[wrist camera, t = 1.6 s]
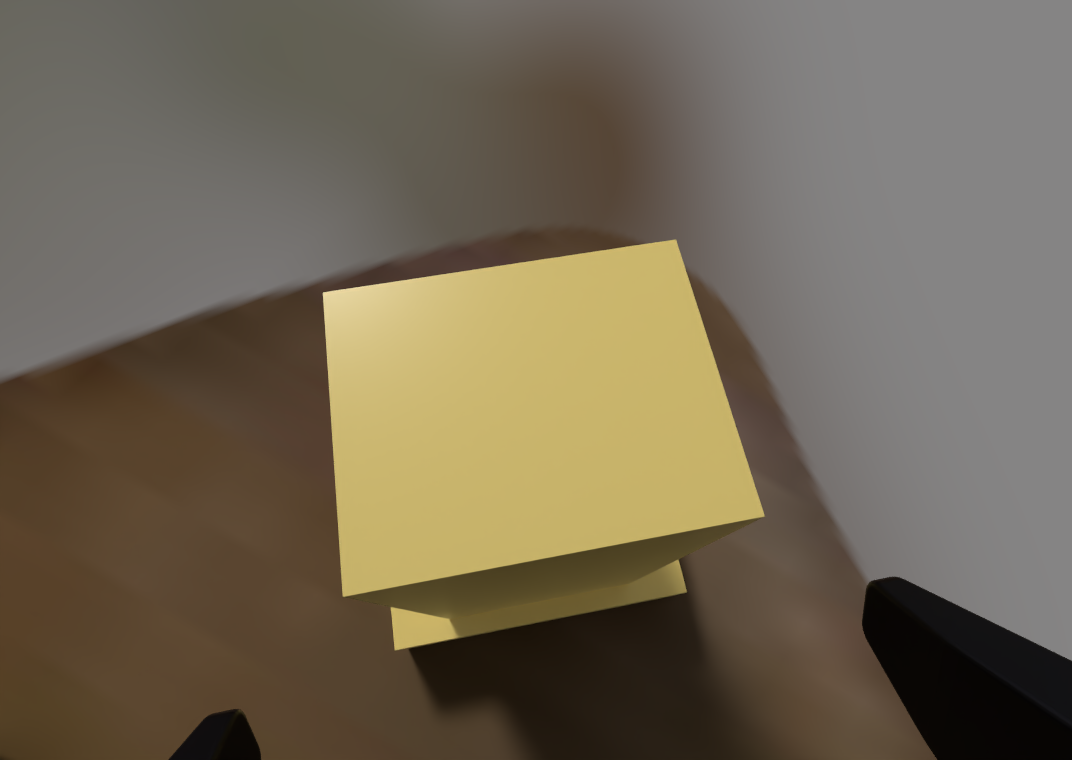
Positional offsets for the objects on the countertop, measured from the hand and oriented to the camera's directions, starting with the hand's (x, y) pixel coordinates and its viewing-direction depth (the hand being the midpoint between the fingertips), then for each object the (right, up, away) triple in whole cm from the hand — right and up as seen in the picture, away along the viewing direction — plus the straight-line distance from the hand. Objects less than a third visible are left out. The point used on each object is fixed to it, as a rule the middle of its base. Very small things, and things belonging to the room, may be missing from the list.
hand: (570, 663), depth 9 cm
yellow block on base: (-1, -1, +11) cm, 11 cm away
